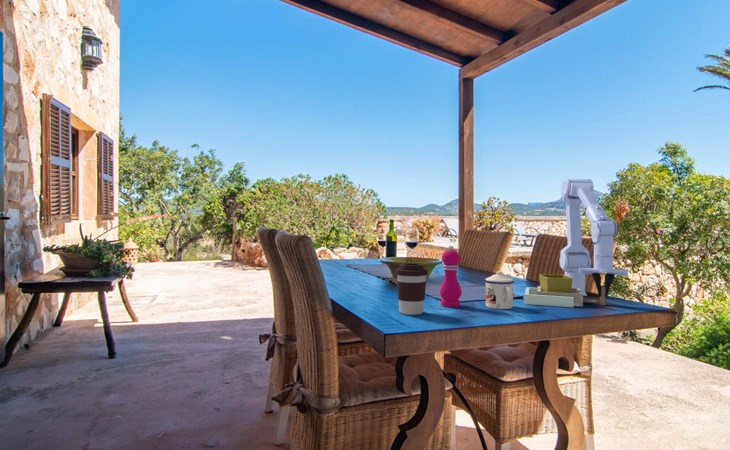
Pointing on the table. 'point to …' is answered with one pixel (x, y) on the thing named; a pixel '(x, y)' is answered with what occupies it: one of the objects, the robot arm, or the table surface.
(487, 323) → the table surface
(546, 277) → the flower pot
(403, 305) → the coffee cup
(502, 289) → the teacup with lid
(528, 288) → the tray
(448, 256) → the pepper mill
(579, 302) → the carrier frame
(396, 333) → the table surface
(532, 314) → the table surface
